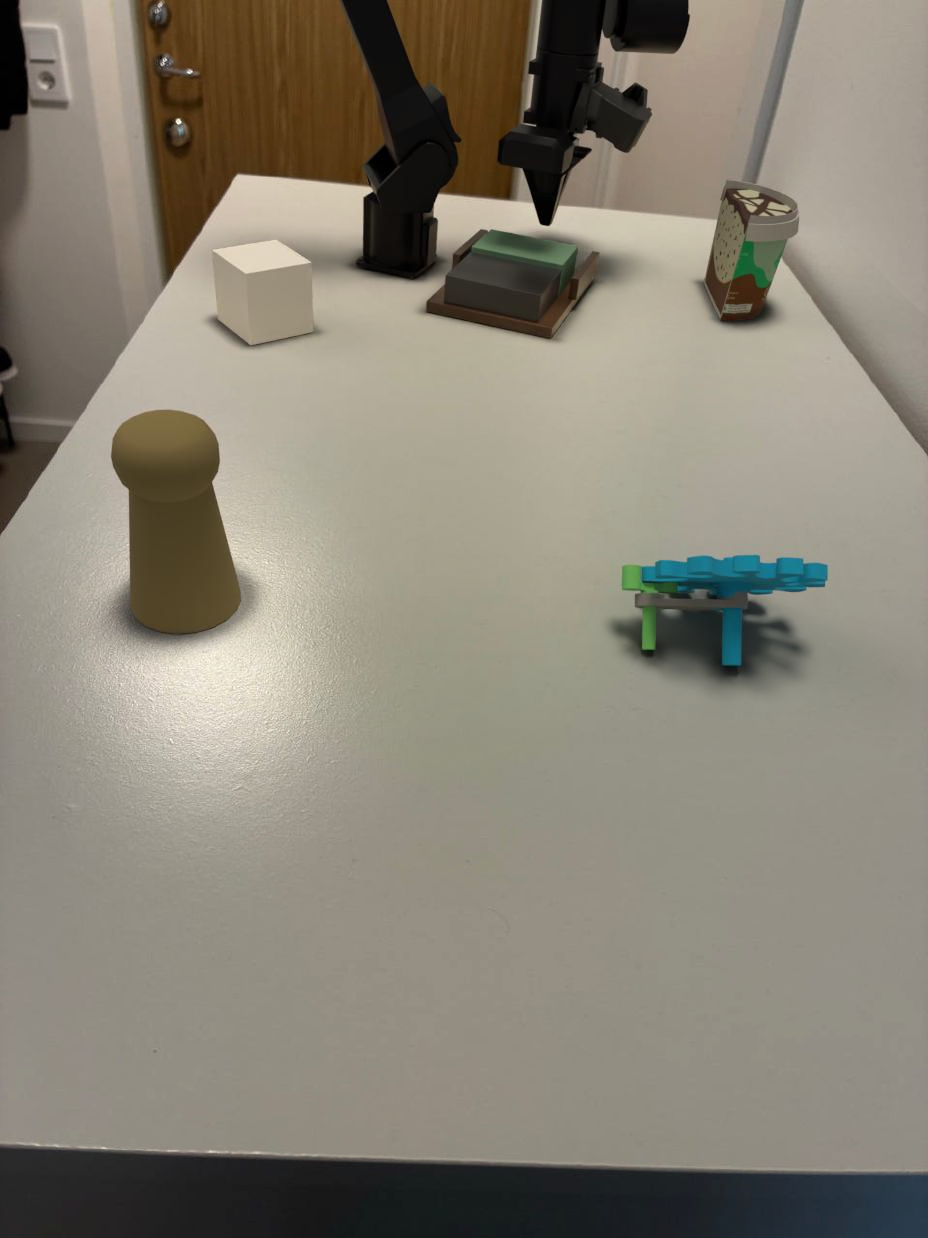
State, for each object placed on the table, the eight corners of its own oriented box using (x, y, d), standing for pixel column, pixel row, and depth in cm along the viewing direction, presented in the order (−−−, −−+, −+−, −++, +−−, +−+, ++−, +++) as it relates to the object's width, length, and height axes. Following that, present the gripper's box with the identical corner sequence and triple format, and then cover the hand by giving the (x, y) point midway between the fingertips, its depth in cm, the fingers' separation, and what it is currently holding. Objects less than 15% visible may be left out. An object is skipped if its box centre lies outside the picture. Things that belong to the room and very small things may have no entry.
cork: (186, 648, 50) (160, 468, 43) (106, 604, 52) (68, 426, 45) (263, 592, 54) (251, 419, 47) (185, 553, 56) (162, 383, 49)
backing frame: (478, 258, 99) (481, 223, 97) (594, 281, 97) (600, 246, 94) (422, 310, 87) (424, 272, 85) (554, 339, 85) (559, 301, 82)
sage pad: (488, 259, 96) (491, 228, 94) (573, 276, 94) (578, 245, 93) (468, 278, 92) (471, 246, 90) (558, 296, 90) (562, 264, 88)
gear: (805, 573, 57) (852, 543, 47) (805, 672, 56) (852, 662, 46) (618, 570, 58) (626, 540, 48) (616, 666, 58) (623, 656, 48)
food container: (786, 331, 90) (820, 223, 84) (723, 326, 90) (751, 217, 84) (758, 284, 100) (787, 183, 93) (700, 278, 100) (725, 177, 93)
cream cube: (313, 332, 82) (312, 262, 78) (250, 345, 79) (245, 273, 75) (279, 307, 85) (276, 239, 82) (217, 319, 82) (211, 249, 79)
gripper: (631, 79, 78) (600, 268, 88) (672, 47, 92) (641, 214, 102) (504, 59, 81) (487, 245, 91) (562, 31, 95) (542, 196, 105)
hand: (545, 224), depth 97 cm, fingers closed
